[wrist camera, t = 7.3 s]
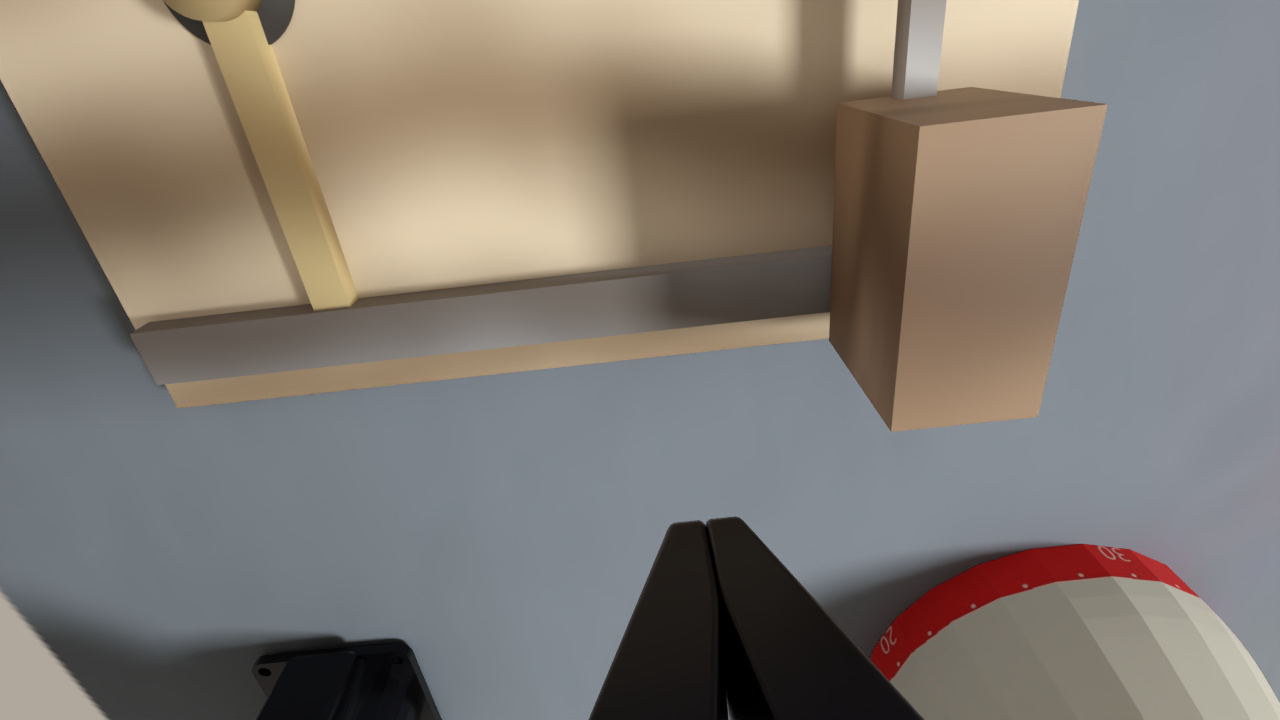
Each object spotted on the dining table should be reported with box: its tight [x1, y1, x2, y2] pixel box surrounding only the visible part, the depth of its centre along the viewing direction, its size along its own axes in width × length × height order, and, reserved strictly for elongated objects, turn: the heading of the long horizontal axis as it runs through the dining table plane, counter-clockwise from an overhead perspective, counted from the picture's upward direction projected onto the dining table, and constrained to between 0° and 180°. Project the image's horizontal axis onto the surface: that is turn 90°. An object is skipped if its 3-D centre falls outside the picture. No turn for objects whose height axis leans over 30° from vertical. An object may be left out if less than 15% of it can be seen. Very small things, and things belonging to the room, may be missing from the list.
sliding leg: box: [829, 0, 1108, 432], centre depth 12 cm, size 11×3×5 cm, turn 6°
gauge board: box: [0, 0, 1079, 408], centre depth 15 cm, size 13×25×2 cm, turn 96°
